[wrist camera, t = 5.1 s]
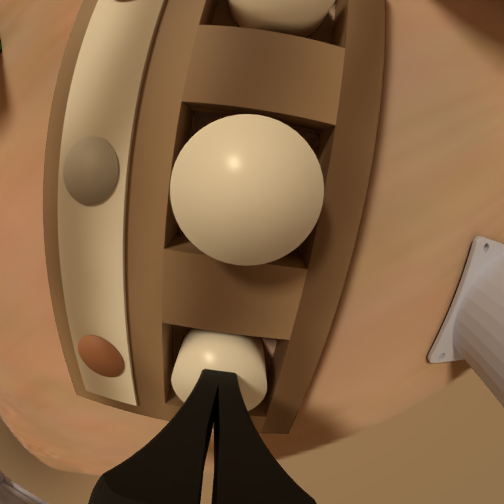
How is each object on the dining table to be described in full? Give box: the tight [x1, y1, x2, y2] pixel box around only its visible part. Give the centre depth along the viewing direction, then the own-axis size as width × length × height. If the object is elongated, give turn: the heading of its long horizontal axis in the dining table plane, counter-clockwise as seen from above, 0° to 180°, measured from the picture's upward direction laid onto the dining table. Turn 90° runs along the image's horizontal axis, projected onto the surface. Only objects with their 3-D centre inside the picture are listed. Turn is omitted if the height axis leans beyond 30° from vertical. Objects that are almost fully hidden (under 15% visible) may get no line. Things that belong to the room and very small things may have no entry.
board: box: [43, 0, 385, 434], centre depth 9 cm, size 12×24×2 cm, turn 171°
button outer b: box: [171, 328, 267, 411], centre depth 12 cm, size 4×4×2 cm
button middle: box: [170, 114, 324, 266], centre depth 8 cm, size 4×4×2 cm
